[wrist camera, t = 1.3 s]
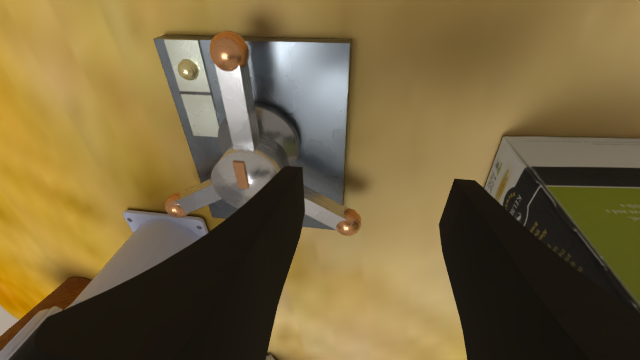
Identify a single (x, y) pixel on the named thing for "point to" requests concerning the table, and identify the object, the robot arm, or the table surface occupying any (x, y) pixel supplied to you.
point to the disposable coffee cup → (49, 305)
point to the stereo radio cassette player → (269, 357)
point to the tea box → (577, 203)
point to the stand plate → (268, 102)
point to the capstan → (252, 146)
